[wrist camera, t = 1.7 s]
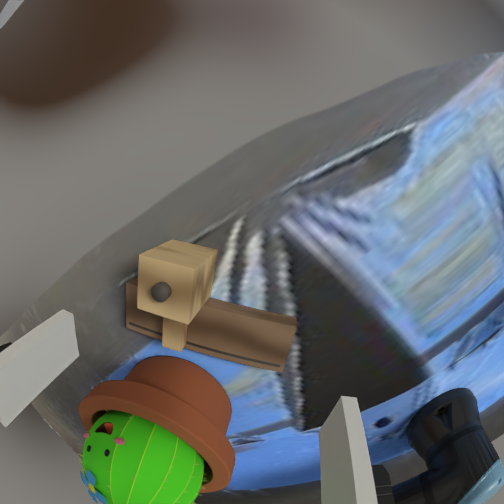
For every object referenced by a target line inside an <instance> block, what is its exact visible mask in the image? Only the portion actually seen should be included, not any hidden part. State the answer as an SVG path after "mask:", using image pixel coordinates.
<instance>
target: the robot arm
mask: <svg viewBox="0 0 504 504" xmlns="http://www.w3.org/2000/svg"><path fill="white" fill-rule="evenodd" d="M77 357H79V352H78V346H77V340H76V333H75V325H74V317H73V314H71V313H70V312H68V311H66V310H64V309H63V310H61V311H60V312H58V313H57V314H55V315H54V316H52V317H51V318H49V319H48V320H46V321H45V322H43V323H42V324H40V325H39V326H37V327H36V328H34V329H33V330H31V331H30V332H28V333H27V334H26V335H24V336H23V337H21V338H20V339H18V340H17V341H16V342H14V343H13V344H12V343H11V342H10V343H7V344H4V345H2V346H0V422H1V423H2V424H3V425H4V426H5V427H7V426H8V425H9V423H10V422H11V421H12V420H13V419H14V418H15V417H16V416H17V415H18V414H19V413H20V412H21V411H22V410H23V409H24V408H25V407H26V406H27V405H28V404H29V403H30V402H31V401H32V400H33V399H34V398H35V397H36V396H37V395H38V394H39V393H41V392H42V391H43V390H44V389H45V388H46V387H47V386H48V385H49V384H50V383H51V382H52V381H53V380H54V379H55V378H56V377H57V376H58V375H59V374H60V373H61V372H62V371H64V370H65V369H66V368H67V367H68V366H69V365H70V364H71V363H72V362H73V361H74V360H75V359H76V358H77ZM406 436H407V439H408V442H409V444H410V446H411V447H412V448H413V449H415V450H416V452H417V453H418V454H419V455H420V456H421V457H422V458H423V459H424V461H425V462H426V465H427V468H428V470H427V471H425V472H423V473H421V474H419V475H417V476H415V477H413V478H411V479H409V480H406V481H404V482H402V483H399V484H397V485H395V486H392V487H391V481H390V477H389V473H388V472H387V471H386V469H385V468H384V466H383V465H371V461H370V456H369V451H368V446H367V441H366V437H365V432H364V428H363V423H362V419H361V414H360V410H359V406H358V402H357V398H355V397H346V396H341V397H340V399H339V401H338V402H337V404H336V405H335V407H334V409H333V410H332V412H331V414H330V415H329V417H328V418H327V420H326V421H325V423H324V424H323V426H322V427H321V429H320V430H319V446H320V469H321V504H484V503H485V502H487V501H488V500H489V499H490V498H491V497H492V496H493V495H494V494H495V493H496V492H497V491H498V490H499V489H500V488H501V486H502V485H503V483H504V468H503V465H502V463H501V462H502V460H501V459H500V458H499V456H498V454H497V452H496V451H495V449H494V447H493V445H492V443H491V441H490V439H489V438H488V436H487V434H486V432H485V431H484V429H483V427H482V425H481V423H480V417H479V411H478V407H477V400H476V398H475V396H474V395H473V393H472V392H471V390H469V389H467V388H458V389H454V390H451V391H448V392H446V393H444V394H442V395H440V396H439V397H437V398H435V399H434V400H432V401H431V402H430V403H428V404H427V405H426V406H425V407H423V408H422V409H421V410H420V411H419V412H418V413H417V414H416V415H415V417H414V418H413V419H412V420H411V422H410V423H409V425H408V427H407V431H406Z"/></svg>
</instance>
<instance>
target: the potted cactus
mask: <svg viewBox="0 0 504 504" xmlns="http://www.w3.org/2000/svg"><path fill="white" fill-rule="evenodd" d="M231 413H232V408H231V403H230V400H229V398H228V395H227V394H226V392H225V390H224V389H223V387H222V386H221V385H220V383H219V382H218V381H217V380H216V379H215V378H214V377H213V376H212V375H211V374H209V373H208V372H207V371H206V370H204V369H203V368H201V367H200V366H198V365H196V364H194V363H192V362H190V361H187V360H184V359H181V358H177V357H170V356H156V357H151V358H147V359H145V360H143V361H141V362H139V363H138V364H137V365H136V366H135V367H134V368H133V369H132V370H131V371H130V373H129V374H128V375H127V376H126V377H125V378H124V380H111V381H106V382H102V383H100V384H98V385H97V386H95V387H94V388H93V389H92V391H91V392H90V393H89V394H88V395H87V396H86V397H85V398H84V399H83V400H82V401H81V403H80V405H79V415H80V418H81V421H82V423H83V425H84V427H85V429H86V430H87V432H88V433H85V434H84V436H83V437H84V438H86V440H85V444H84V447H83V453H82V455H81V456H82V459H81V460H82V463H81V464H82V465H83V469H81V470H83V471H84V474H85V477H84V476H83V474H82V472H80V474H81V478H82V481H83V482H84V484H85V485H86V486H87V487H89V490H88V492H89V494H90V496H91V497H92V498H93V500H94V501H95V502H96V503H97V501H96V498H95V495H96V497H97V498H98V499H99V501H101V502H102V503H103V504H194V500H195V499H196V497H197V495H199V494H198V493H207V492H214V491H218V490H221V489H223V488H225V487H226V486H227V485H228V484H229V482H230V480H231V476H232V473H233V469H234V465H235V453H234V450H233V448H232V446H231V444H230V442H229V441H228V439H227V438H226V436H225V435H226V432H227V429H228V425H229V422H230V419H231ZM79 449H80V448H79ZM81 449H82V448H81ZM78 454H79V453H78ZM85 478H86V479H85ZM201 496H202V495H201ZM201 496H200V497H201ZM195 504H196V503H195Z"/></svg>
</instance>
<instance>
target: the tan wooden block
mask: <svg viewBox="0 0 504 504" xmlns="http://www.w3.org/2000/svg"><path fill="white" fill-rule="evenodd" d="M217 251H218V250H217V249H212V248H208V247H203V246H199V245H194V244H190V243H185V242H181V241H176V240H170V241H168V242H165V243H163V244H161V245H159V246H157V247H154V248H152V249H150V250H148V251H146V252H144V253H141V254H139V267H138V295H137V308H138V309H141V310H144V311H147V312H150V313H153V314H156V315H159V316H162V317H163V337H162V346H164V347H167V348H170V349H173V350H176V351H179V352H181V351H182V349H183V348H184V346H185V345H186V339H187V328H188V325H189V323H190V322H191V321H192V319H193V318H194V317H195V315H196V314H197V313H198V312H199V310H200V309H201V308H202V306H203V305H204V304H205V302H206V301H207V300H208V298H209V297H210V296H211V291H212V284H213V277H214V270H215V264H216V257H217Z"/></svg>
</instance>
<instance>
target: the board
mask: <svg viewBox="0 0 504 504" xmlns="http://www.w3.org/2000/svg"><path fill="white" fill-rule="evenodd" d="M137 295H138V277H135V278H133V279H131V280H130V281H128V282H126V325H127V328H129V329H131V330H134V331H136V332H139V333H142V334H145V335H147V336H150V337H153V338H156V339H159V340H162V337H163V317H162V316H159V315H156V314H153V313H150V312H147V311H144V310H141V309H138V308H137ZM295 330H296V317H291V316H287V315H282V314H277V313H273V312H268V311H264V310H259V309H255V308H251V307H246V306H242V305H238V304H234V303H230V302H226V301H222V300H218V299H214V298H210V297H209V298H208V300H207V301H206V302H205V304H204V305H203V306H202V308H201V309H200V310H199V312H198V313H197V314H196V315H195V317H194V318H193V319H192V321H191V322H190V323H189V325H188V328H187V339H186V345H185V346H184V348H186V349H190V350H193V351H196V352H200V353H203V354H207V355H210V356H214V357H217V358H221V359H225V360H229V361H233V362H237V363H241V364H245V365H249V366H254V367H258V368H263V369H267V370H272V371H277V372H282V371H283V368H284V365H285V362H286V359H287V356H288V353H289V350H290V347H291V343H292V340H293V337H294V334H295Z"/></svg>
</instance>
